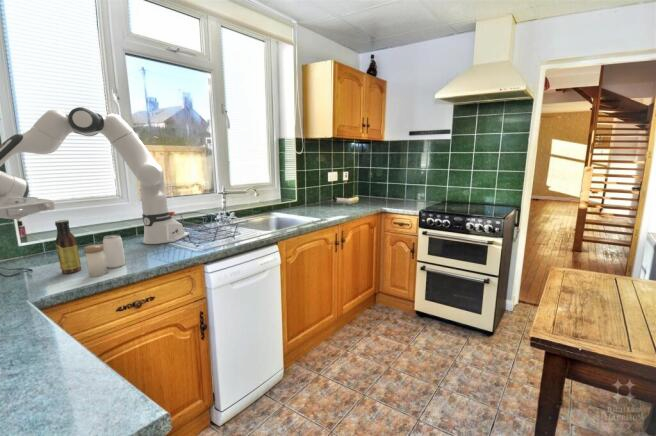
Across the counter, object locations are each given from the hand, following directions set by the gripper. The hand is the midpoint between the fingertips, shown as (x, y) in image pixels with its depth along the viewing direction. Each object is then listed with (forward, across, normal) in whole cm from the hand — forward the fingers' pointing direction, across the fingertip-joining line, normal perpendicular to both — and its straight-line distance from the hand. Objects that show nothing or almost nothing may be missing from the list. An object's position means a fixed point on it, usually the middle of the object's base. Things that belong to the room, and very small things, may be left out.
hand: (35, 209), depth 130 cm
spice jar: (+27, +1, +23) cm, 36 cm away
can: (+25, +10, +24) cm, 36 cm away
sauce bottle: (+14, 0, +24) cm, 27 cm away
